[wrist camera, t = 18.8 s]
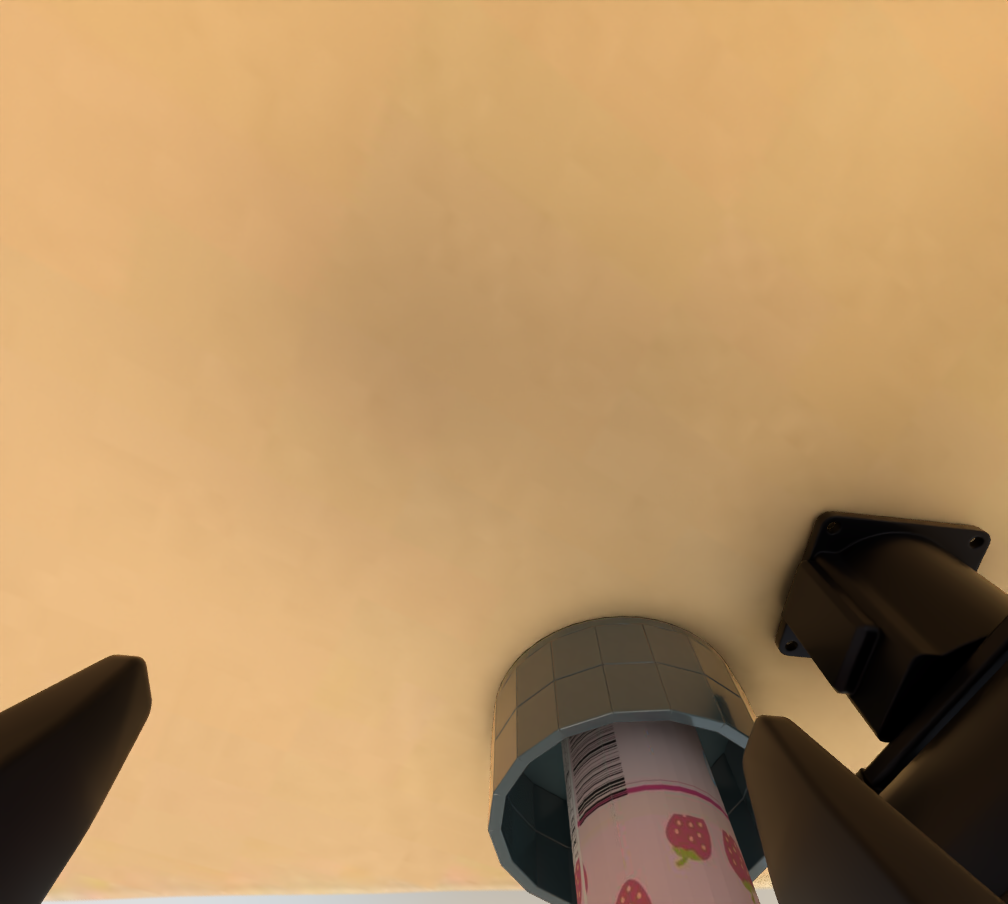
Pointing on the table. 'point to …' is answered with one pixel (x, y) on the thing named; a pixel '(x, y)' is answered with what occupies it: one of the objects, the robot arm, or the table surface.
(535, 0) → the table surface
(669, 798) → the beverage can
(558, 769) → the dark round bowl
